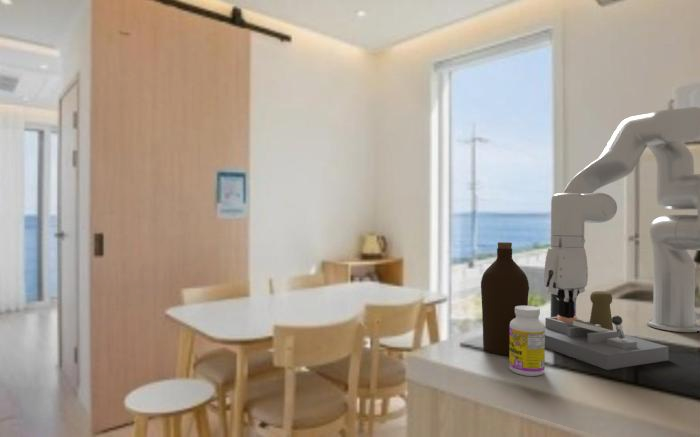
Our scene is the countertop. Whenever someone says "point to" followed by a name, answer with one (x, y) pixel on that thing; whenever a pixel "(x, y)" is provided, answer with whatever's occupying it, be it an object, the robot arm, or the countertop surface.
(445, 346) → the countertop surface
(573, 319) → the button
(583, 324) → the rocker
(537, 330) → the supplement bottle
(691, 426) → the countertop surface
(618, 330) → the toggle lever
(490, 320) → the olive oil
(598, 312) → the cork
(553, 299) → the supplement container
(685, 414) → the countertop surface
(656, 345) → the panel
